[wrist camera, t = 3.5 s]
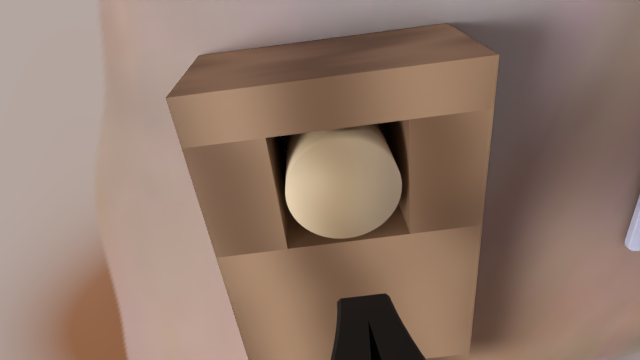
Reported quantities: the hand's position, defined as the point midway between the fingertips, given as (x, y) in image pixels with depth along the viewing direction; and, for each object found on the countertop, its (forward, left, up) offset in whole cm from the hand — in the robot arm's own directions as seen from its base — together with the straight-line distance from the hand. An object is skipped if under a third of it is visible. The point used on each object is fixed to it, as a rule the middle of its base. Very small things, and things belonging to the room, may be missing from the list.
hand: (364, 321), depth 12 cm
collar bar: (0, +4, -9) cm, 10 cm away
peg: (0, -2, -9) cm, 9 cm away
